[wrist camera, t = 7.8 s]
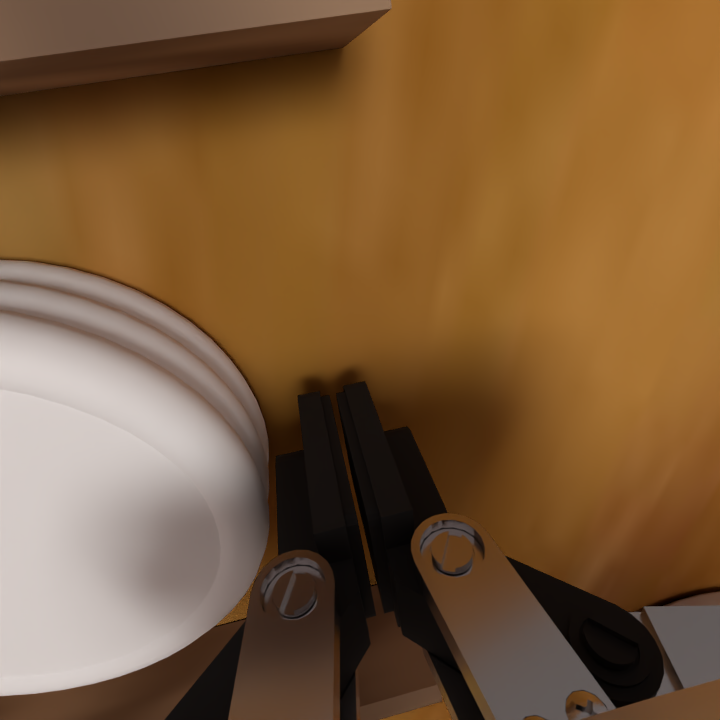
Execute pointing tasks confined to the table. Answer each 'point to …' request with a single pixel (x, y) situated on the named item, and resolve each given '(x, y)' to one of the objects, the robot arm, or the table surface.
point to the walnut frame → (155, 56)
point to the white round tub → (117, 480)
